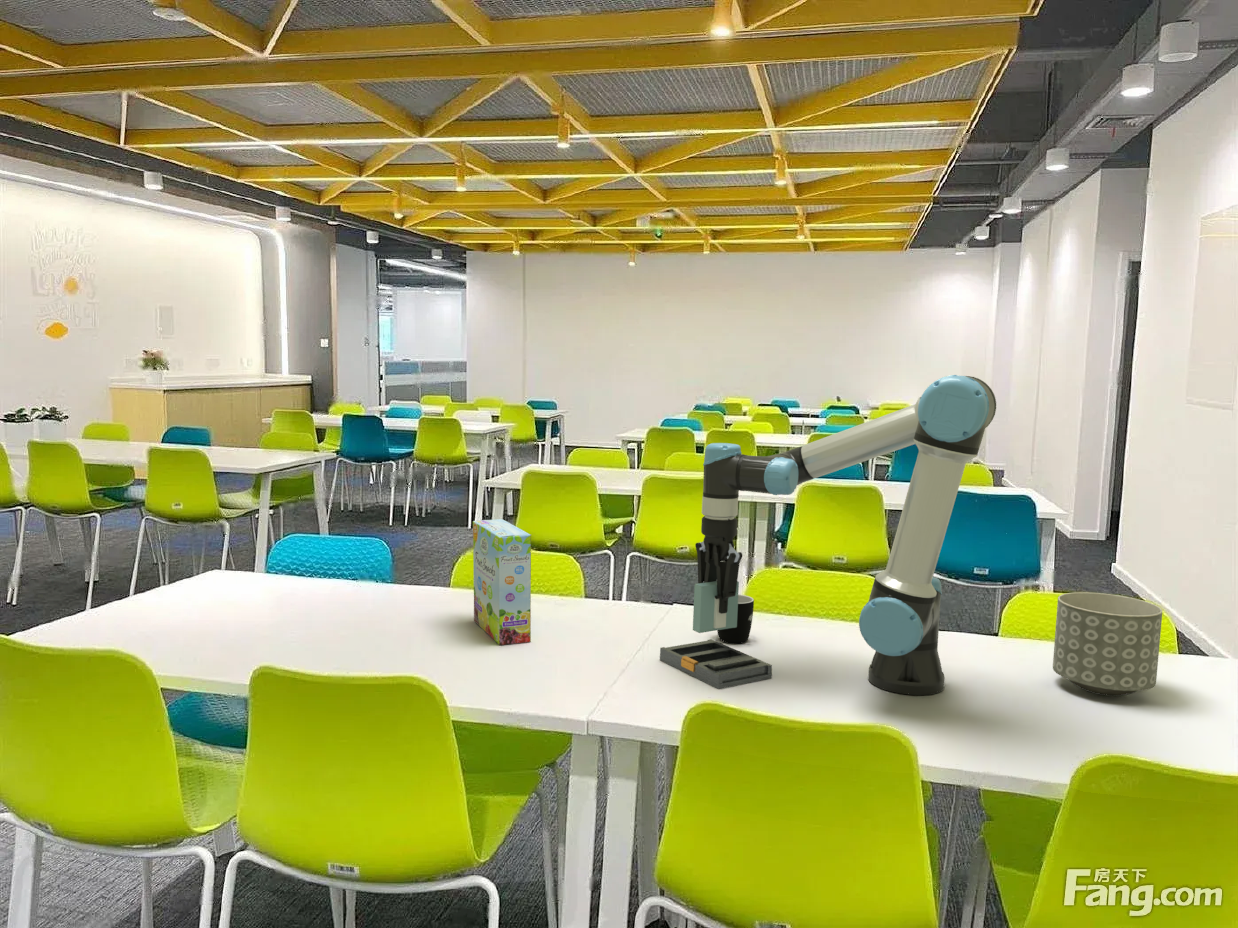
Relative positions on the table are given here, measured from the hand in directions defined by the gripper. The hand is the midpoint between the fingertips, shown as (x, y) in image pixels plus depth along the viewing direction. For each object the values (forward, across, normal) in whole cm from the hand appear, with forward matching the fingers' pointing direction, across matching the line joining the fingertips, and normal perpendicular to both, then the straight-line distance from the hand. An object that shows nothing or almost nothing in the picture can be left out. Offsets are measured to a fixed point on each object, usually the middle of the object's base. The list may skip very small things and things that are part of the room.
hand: (715, 625), depth 199 cm
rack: (+10, 0, 0) cm, 10 cm away
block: (+1, 0, 0) cm, 1 cm away
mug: (+10, +16, -18) cm, 26 cm away
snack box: (+10, +46, +29) cm, 55 cm away
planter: (+9, -48, -64) cm, 81 cm away
